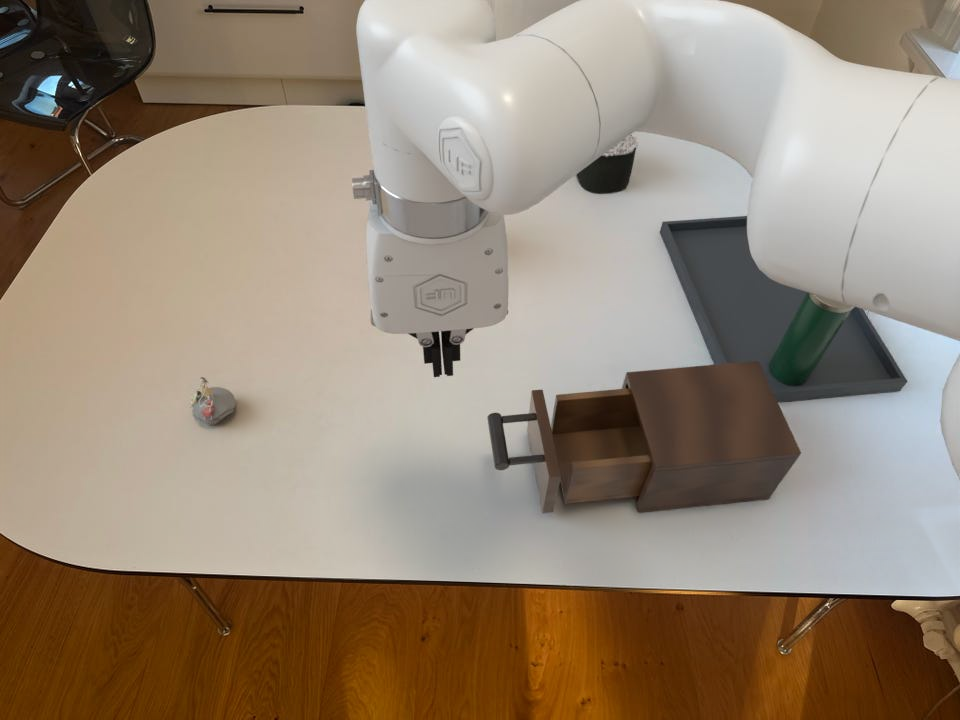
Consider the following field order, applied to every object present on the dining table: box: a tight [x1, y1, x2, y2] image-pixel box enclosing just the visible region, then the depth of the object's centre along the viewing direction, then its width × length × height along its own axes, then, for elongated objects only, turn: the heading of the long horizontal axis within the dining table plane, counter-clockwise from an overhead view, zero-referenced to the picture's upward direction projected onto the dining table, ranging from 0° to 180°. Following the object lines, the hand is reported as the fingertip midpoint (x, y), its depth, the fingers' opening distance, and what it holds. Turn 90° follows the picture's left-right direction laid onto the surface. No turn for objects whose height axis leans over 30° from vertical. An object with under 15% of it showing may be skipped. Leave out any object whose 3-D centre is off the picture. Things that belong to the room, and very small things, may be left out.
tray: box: [659, 215, 908, 403], centre depth 93 cm, size 31×21×2 cm
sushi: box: [575, 134, 639, 195], centre depth 108 cm, size 8×8×8 cm
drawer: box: [487, 388, 652, 514], centre depth 74 cm, size 18×10×8 cm, turn 97°
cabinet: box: [621, 361, 802, 514], centre depth 75 cm, size 15×12×10 cm
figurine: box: [189, 376, 237, 426], centre depth 80 cm, size 5×4×6 cm
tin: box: [769, 292, 855, 386], centre depth 81 cm, size 5×5×14 cm
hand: (442, 363), depth 60 cm, fingers closed
